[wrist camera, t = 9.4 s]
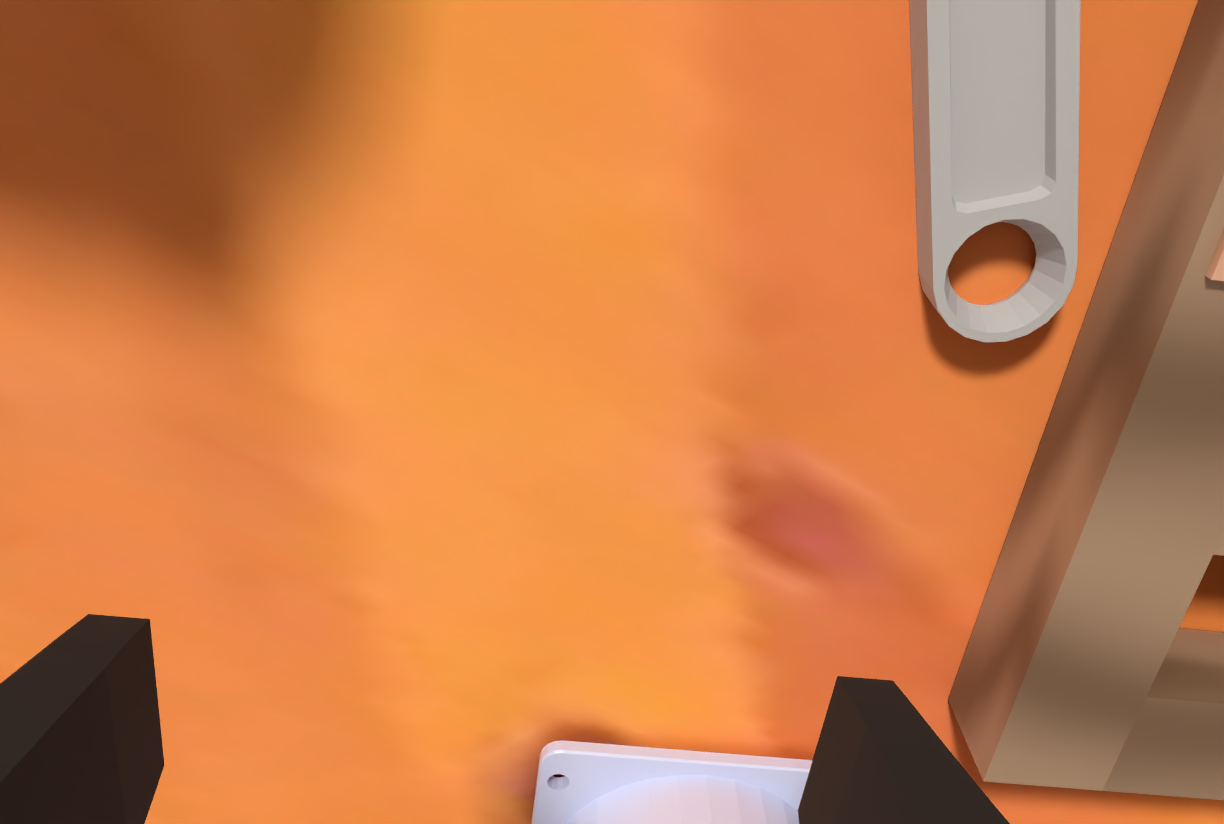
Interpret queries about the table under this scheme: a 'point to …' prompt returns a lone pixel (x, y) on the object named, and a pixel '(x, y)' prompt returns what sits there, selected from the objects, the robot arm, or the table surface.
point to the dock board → (1124, 499)
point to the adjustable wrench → (996, 148)
